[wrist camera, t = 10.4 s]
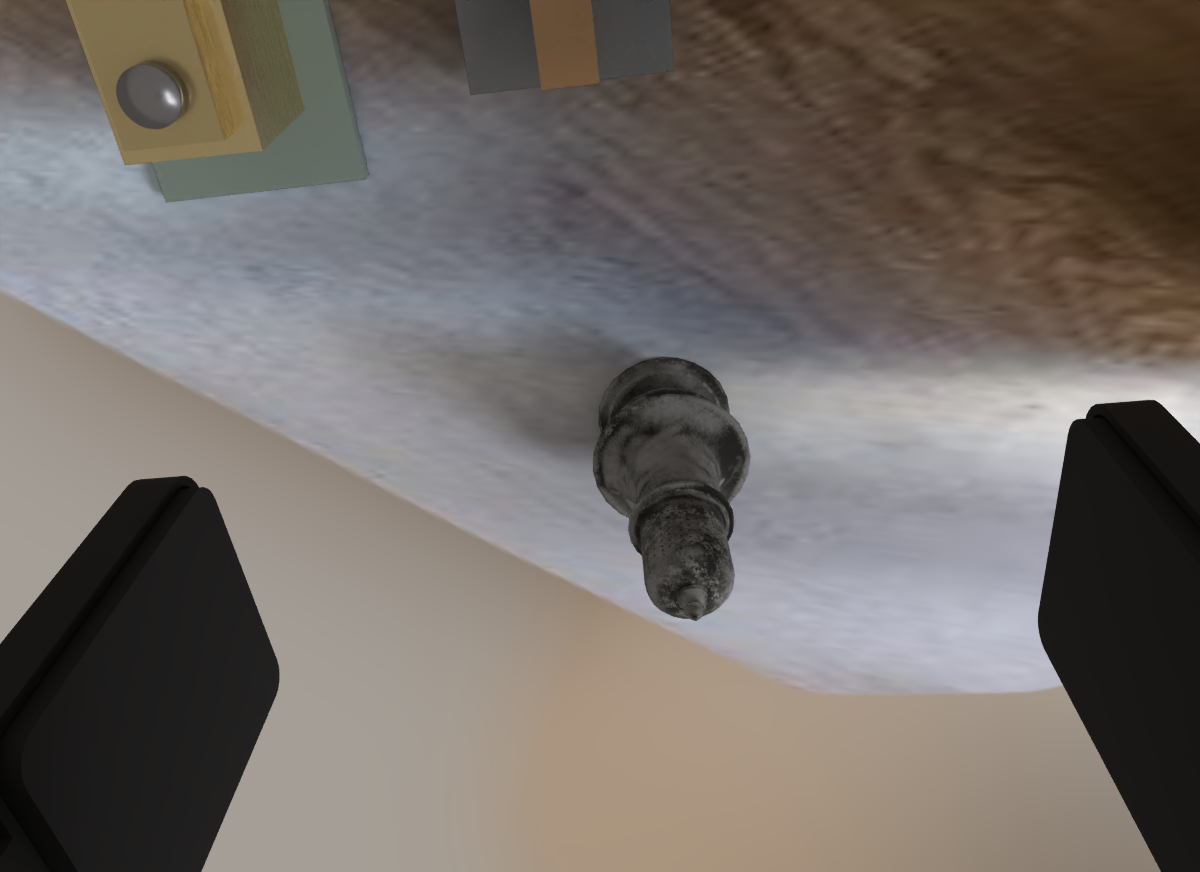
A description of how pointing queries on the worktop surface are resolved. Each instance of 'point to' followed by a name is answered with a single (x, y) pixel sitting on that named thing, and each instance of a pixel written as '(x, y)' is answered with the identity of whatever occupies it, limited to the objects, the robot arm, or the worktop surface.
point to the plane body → (562, 42)
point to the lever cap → (189, 74)
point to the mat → (308, 145)
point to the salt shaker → (674, 479)
